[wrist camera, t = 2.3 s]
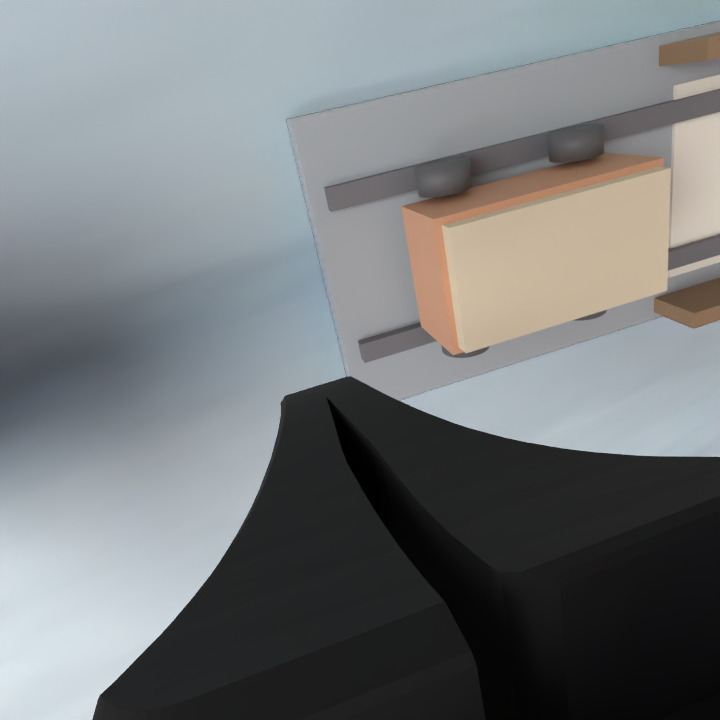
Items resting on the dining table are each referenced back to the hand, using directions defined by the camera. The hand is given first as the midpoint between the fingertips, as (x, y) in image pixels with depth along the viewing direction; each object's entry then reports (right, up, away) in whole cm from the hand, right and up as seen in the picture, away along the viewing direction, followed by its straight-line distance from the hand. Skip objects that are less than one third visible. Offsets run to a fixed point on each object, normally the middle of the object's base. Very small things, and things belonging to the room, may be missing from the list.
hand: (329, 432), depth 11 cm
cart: (+5, +5, +9) cm, 12 cm away
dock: (+9, +7, +11) cm, 16 cm away
